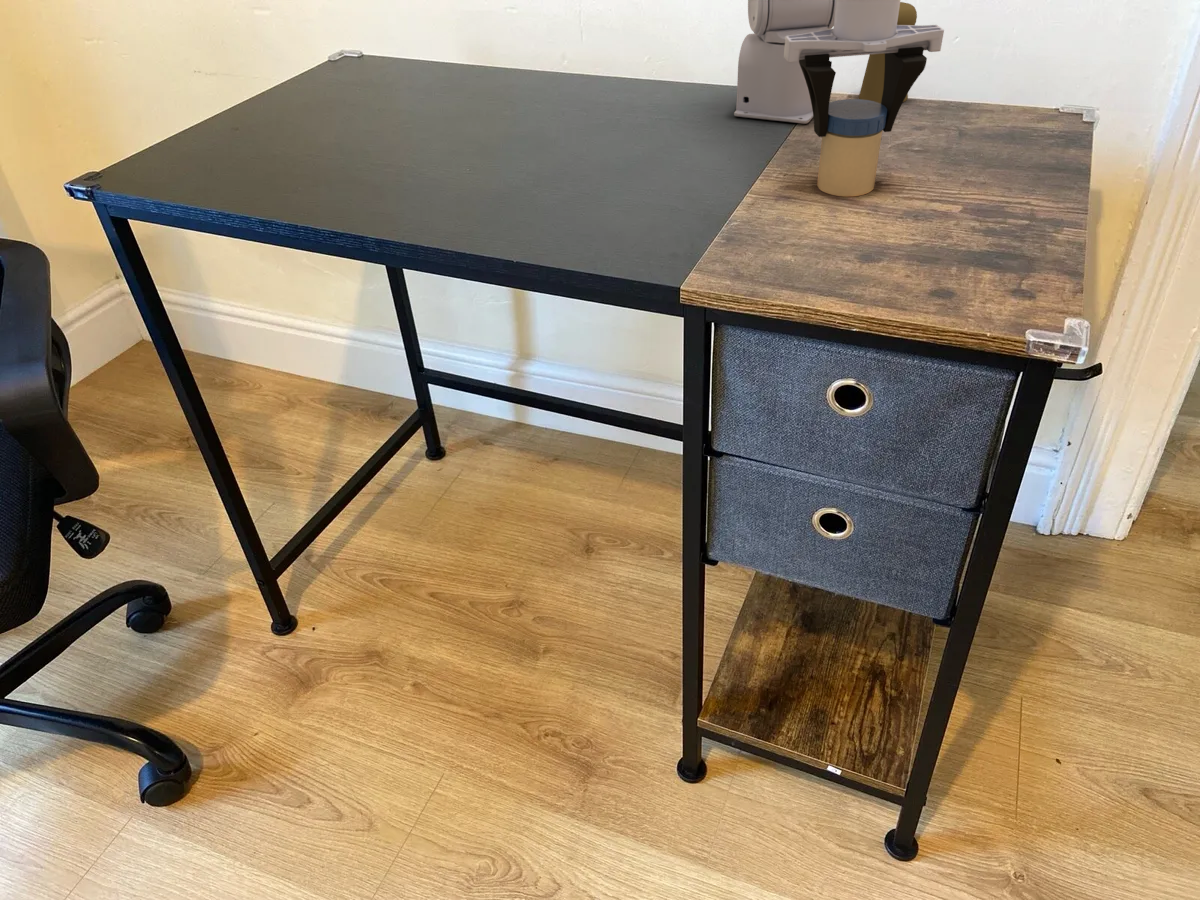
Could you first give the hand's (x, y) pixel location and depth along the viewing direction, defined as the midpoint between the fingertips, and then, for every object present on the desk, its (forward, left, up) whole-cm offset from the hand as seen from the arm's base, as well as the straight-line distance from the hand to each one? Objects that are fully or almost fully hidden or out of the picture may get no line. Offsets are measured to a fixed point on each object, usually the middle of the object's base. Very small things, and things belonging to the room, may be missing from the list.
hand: (851, 131), depth 88 cm
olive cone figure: (-3, +29, -6) cm, 30 cm away
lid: (0, 0, +2) cm, 2 cm away
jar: (0, 0, -6) cm, 6 cm away
